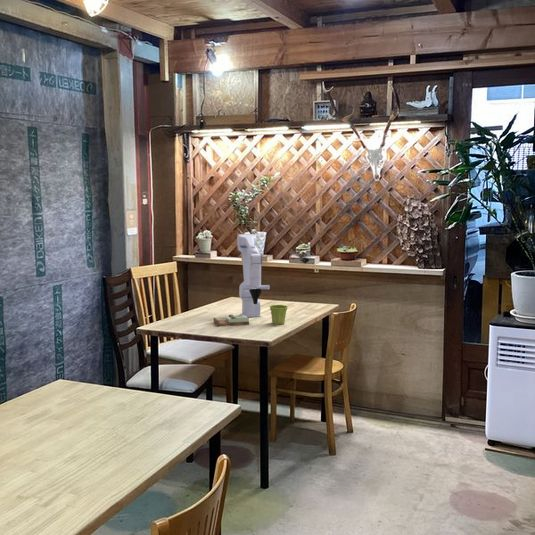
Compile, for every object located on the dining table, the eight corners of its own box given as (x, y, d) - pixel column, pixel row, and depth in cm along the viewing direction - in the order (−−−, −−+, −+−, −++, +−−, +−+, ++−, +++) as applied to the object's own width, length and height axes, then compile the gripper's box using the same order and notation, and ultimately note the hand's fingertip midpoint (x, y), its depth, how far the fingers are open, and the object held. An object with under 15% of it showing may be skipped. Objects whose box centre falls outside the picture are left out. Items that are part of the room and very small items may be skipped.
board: (244, 320, 314) (244, 313, 314) (249, 324, 306) (249, 316, 305) (213, 322, 310) (213, 315, 309) (217, 326, 301) (217, 318, 301)
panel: (244, 318, 314) (244, 315, 314) (248, 321, 306) (248, 318, 306) (225, 319, 311) (225, 316, 311) (229, 322, 303) (229, 319, 303)
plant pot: (290, 322, 311) (290, 305, 310) (283, 326, 303) (283, 308, 302) (273, 320, 315) (274, 304, 314) (266, 324, 307) (266, 307, 306)
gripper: (243, 278, 303) (243, 305, 304) (271, 277, 307) (271, 304, 309) (239, 276, 310) (239, 303, 311) (267, 276, 314) (267, 302, 315)
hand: (255, 303), depth 310 cm, fingers closed
